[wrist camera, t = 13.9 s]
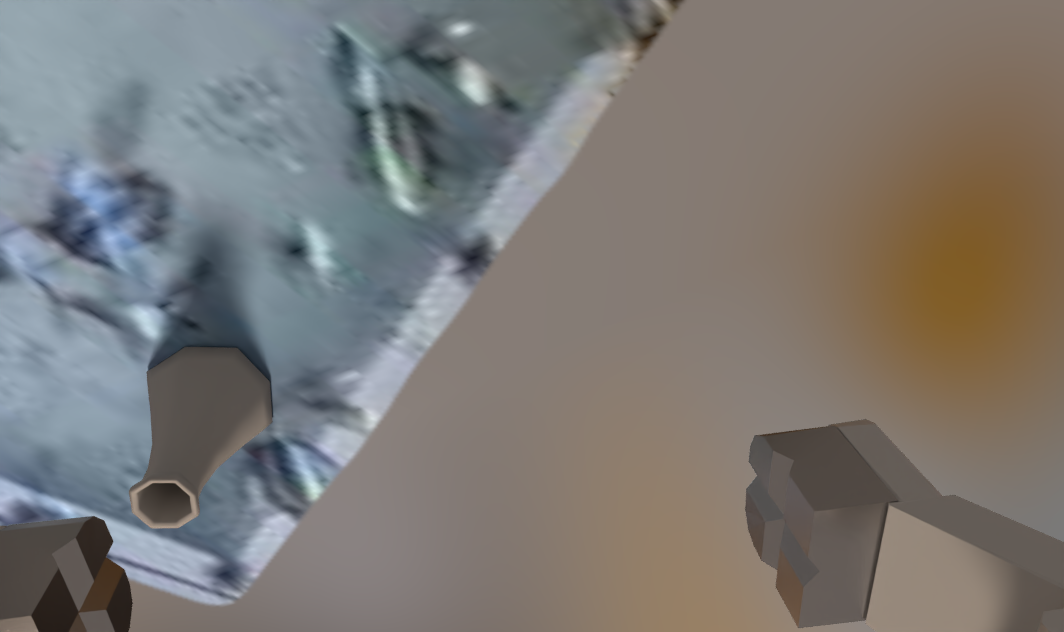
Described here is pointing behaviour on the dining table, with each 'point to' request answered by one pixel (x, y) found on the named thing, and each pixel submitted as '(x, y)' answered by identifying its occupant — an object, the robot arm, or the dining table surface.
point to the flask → (196, 427)
